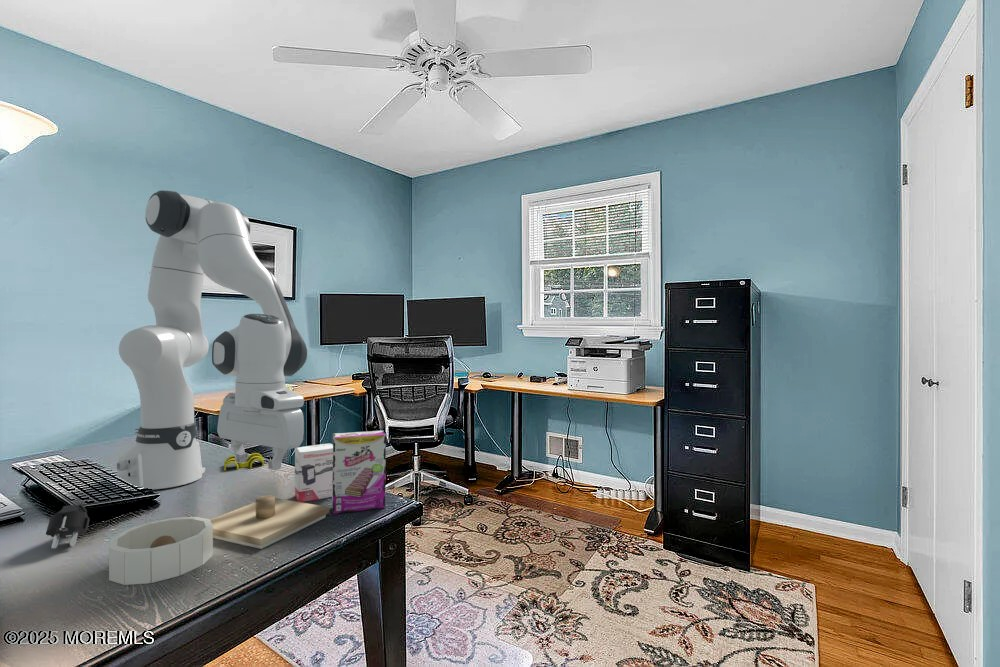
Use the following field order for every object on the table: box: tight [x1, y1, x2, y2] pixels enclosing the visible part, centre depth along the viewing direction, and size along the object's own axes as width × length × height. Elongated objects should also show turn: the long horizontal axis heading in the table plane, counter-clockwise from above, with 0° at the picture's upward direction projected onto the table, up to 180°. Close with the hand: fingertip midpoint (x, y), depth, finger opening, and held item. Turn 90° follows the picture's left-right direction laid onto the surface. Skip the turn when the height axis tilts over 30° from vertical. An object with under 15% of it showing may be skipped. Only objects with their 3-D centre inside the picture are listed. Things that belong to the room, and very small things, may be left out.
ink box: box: [294, 443, 333, 503], centre depth 113 cm, size 8×5×12 cm, turn 123°
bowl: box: [108, 516, 214, 586], centre depth 81 cm, size 14×14×5 cm
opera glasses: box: [223, 452, 265, 471], centre depth 134 cm, size 10×5×5 cm, turn 118°
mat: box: [213, 514, 327, 550], centre depth 97 cm, size 16×16×1 cm
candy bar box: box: [331, 430, 387, 515], centre depth 106 cm, size 11×5×16 cm, turn 110°
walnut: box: [150, 536, 176, 548], centre depth 81 cm, size 4×4×4 cm
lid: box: [209, 494, 330, 546], centre depth 97 cm, size 17×17×5 cm
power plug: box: [45, 503, 90, 550], centre depth 90 cm, size 6×8×12 cm
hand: (257, 465), depth 96 cm, fingers open, 8 cm apart
